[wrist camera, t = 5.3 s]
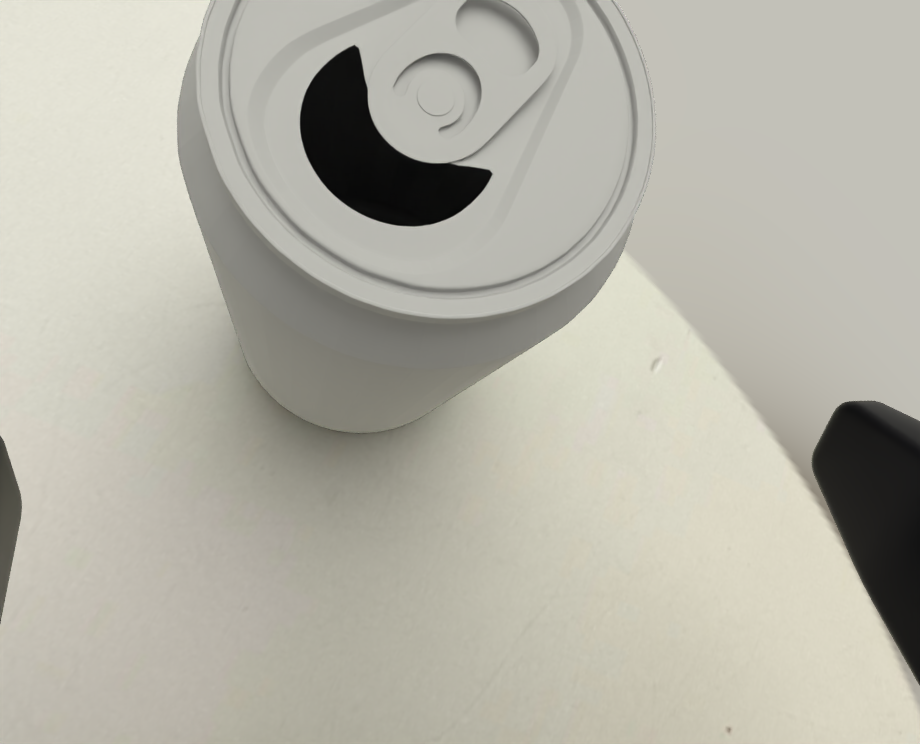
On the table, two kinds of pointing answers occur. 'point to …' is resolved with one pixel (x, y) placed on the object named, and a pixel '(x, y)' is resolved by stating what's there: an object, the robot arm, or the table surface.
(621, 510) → the table surface
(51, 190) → the table surface
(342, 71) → the beverage can
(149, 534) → the table surface
